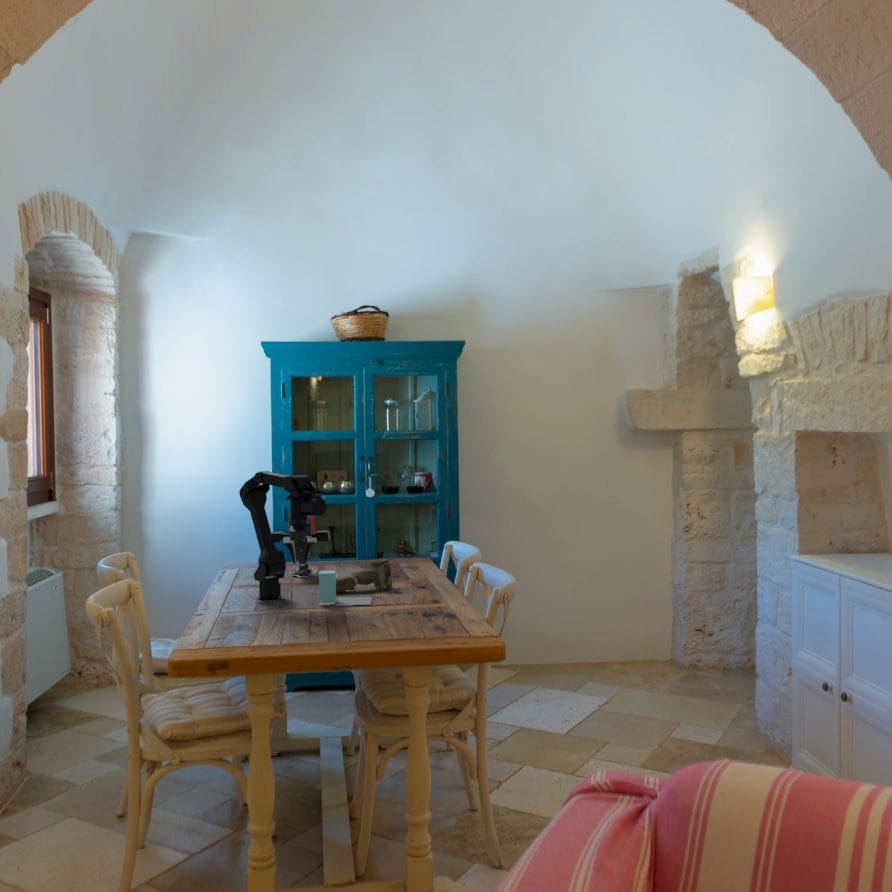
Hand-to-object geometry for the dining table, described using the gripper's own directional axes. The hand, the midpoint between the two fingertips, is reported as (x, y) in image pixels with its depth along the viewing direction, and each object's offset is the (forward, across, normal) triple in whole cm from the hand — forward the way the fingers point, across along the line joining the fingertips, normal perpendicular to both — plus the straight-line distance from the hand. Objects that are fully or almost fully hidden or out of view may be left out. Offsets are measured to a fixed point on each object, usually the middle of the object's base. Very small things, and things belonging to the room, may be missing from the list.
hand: (300, 563), depth 268 cm
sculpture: (+13, +18, +20) cm, 30 cm away
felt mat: (+13, +17, 0) cm, 21 cm away
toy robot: (+13, -4, +55) cm, 57 cm away
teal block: (+13, +8, 0) cm, 16 cm away
